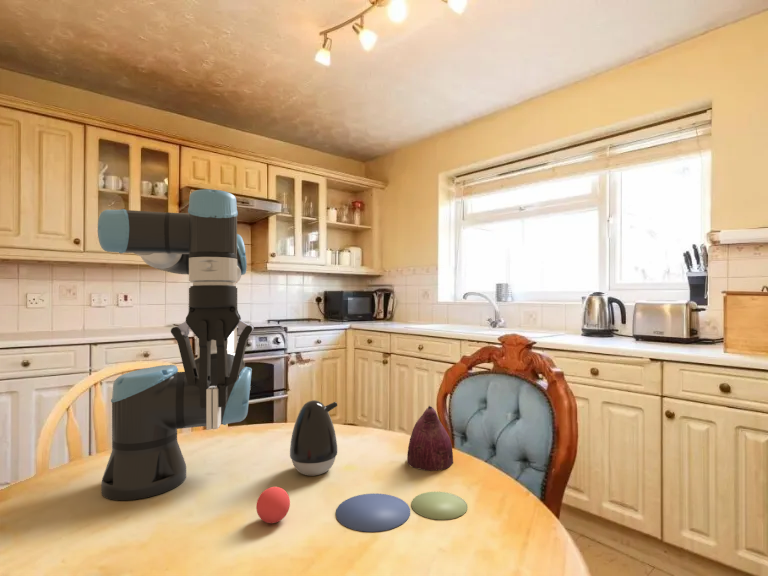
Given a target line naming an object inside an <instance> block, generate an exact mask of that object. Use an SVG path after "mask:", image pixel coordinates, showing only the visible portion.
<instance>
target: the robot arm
mask: <svg viewBox="0 0 768 576" xmlns="http://www.w3.org/2000/svg"><path fill="white" fill-rule="evenodd" d="M188 199H189V200H188V201H189V202H188V207H187V212H186V213H184V212H161V211H147V210H130V209H125V208H121V209H104V210H103V211H101V212H100V214H99V216H98V219H97V238H98V242H99V245H100V247H101V249H102V251H105V252H107V253H109V252H110V253H119V254H135V255H137V256H139V257H141V260H142V261H143V262H144V263H145V264H146V265H147V266H149V267H152V268H154V269H155V270H156V269H157V270H160V271H163V272H166V273H171V274H177V275H188V281H189V283H191V284H192V285H190V286H189V288H188V313H187V316H186V317H185V320H184V321H183V322H182V323H181V324H179V325H177V326H173V327H172V328H171V329H170V334H171V335H172V336H173V337H174V339H175V340H176V342H177V345H178V346H177V347H178V350H179V354H180V359H181V362H182V365H183V370H184V371H179V368H178V367H177V365H175V364H165V365H163V364H162V365H156V366H155V365H154V366H150V367H146V368H145V367H144V368H141V369H138V370H133V371H129V372H127V373H123V374H121V375H119V376H118V377H116V379H114V382H113V384H112V392H111V393H112V397H111V399H110V402H111V440H112V442H111V453H110V456H109V459H108V462H107V465H106V466H105V470H104V473H103V476H102V479H101V493H100V494H101V496H103V497H104V498H106V499H108V500H112V501H113V500H114V501H133V500H139V499H141V500H142V499H146V498H150V497H153V496H157V495H161V494H164V493H167V492H168V491H171V490H173V489H175V488H177V487H179V486H180V485H181V484H182V483H184V482H185V480H186V479H187V463H186V461H185V458H184V456H183V453H182V450H181V448H180V445H179V442H178V430H181V429H188V428H199V427H206V430H218V429H219V428H220V426H221V425H223V426H226V425H228V424H234V423H241V422H242V421H244V420H245V419H246V417H247V416H248V412H249V400H250V392H251V391H250V390H251V381H252V373H253V372H252V371H253V369H252V367H249V366H246V361H245V360H244V357H245V353H246V349H247V344H248V342H249V341H248V340H249V338H250V336H251V334H252V333H253V331H254V329H255V327H254V325H253V324H249V323H246V322H245V321H243V320H242V317H241V315H240V313H239V311H238V310H239V309H238V287H237V285H236V284H237V283H238V282H239V281H240V280H241V278H242V276H244V275H245V274H247V268H248V267H247V256H246V246H245V242H244V240H243V239H244V238H243V237H242V236H241V234H239V233H238V216H239V211H238V208H237V207H238V206H237V204H238V203H237V198H236V196H235V195H234V194H232V193H231V192H228V191H224V190H219V189H208V188H206V189H197V190H194V191H192V192H191V193H190V194H189V198H188ZM190 330H191V332H192V333H193V334H194V335H195V336H196V338H197V339H198V343H197V357H196V358H195V357H194V353H193V349H192V345H191V340H190V338H189V335H190ZM238 335H239V337H238Z"/></svg>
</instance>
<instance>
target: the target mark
mask: <svg viewBox="0 0 768 576" xmlns="http://www.w3.org/2000/svg"><path fill="white" fill-rule="evenodd" d="M410 516H411V508H410V506H409V504H408V503H407V502H406V501H405V500H403V499H401V498H399V497H397V496H394V495H391V494H386V493H385V494H384V493H365V494H364V493H363V494H358V495H355V496H352V497H349V498H347V499H345V500H343V501H342V502H341V503H340V504H338V506H337V508H336V510H335V517H336V520H337V521H338V522H339V523H340V524H341V525H343V526H344V527H346V528H348V529H350V530H354V531H359V532H365V533H376V532H377V533H378V532H386V531H390V530H394V529H395V528H398V527H400V526H402V525H403V524H405V523H406V522H407V521H408V520H409V519H410Z"/></svg>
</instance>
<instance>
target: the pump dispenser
mask: <svg viewBox="0 0 768 576" xmlns="http://www.w3.org/2000/svg"><path fill="white" fill-rule="evenodd" d="M336 407H338V402H336V401H334V402H331V403H330V404H326V405H324V403H323V402H321V401H319V400H316V399H315V400H309V401H306V402H305V403H304V404H303V406H302V407H301V409H300V411H299V413H298V414H297V417H296V420H295V422H294V426H293V429H292V434H291V440H290V445H289V446H290V447H289V457H290V459H291V463H292V465H293V467H294V468H295V470H296V471H297V472H299V473H300V474H303V475H304V476H309V477H310V476H314V477H315V476H319V475H323V474H325V473H326V472H328V471H329V470H330V469H331V468H332V467H333V465H334V463H335V460H336V456H337V455H338V443H337V442H338V441H337V437H336V430H335V426H334V424H333V421H332V418H331V415H330V413H329V412H331V411H332V410H333V409H335V408H336Z"/></svg>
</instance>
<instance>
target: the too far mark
mask: <svg viewBox="0 0 768 576" xmlns="http://www.w3.org/2000/svg"><path fill="white" fill-rule="evenodd" d="M410 503H411V508H412V510H413V511H414V512H415V513H416V514H418V515H419V516H421V517H424V518H426V519H431V520H439V521H442V520H443V521H446V520H447V521H448V520H454V519H457V518H460V517H462V516H463V515H465V513H467V511H468V503H467V502H466V500H465V499H464V498H462V497H461V496H458V495H456V494H454V493H452V492H451V493H450V492H446V491H427V492H423V493H420V494H417V495H416V496H415V497H413V498H412V500H411V502H410Z"/></svg>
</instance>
